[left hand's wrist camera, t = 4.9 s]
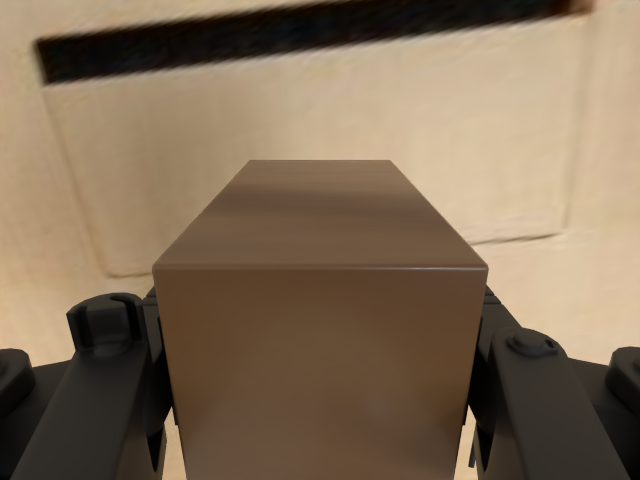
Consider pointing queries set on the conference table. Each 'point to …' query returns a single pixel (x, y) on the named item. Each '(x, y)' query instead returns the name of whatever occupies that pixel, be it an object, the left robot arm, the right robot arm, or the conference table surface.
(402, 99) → the conference table surface
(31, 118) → the conference table surface
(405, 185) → the bar
